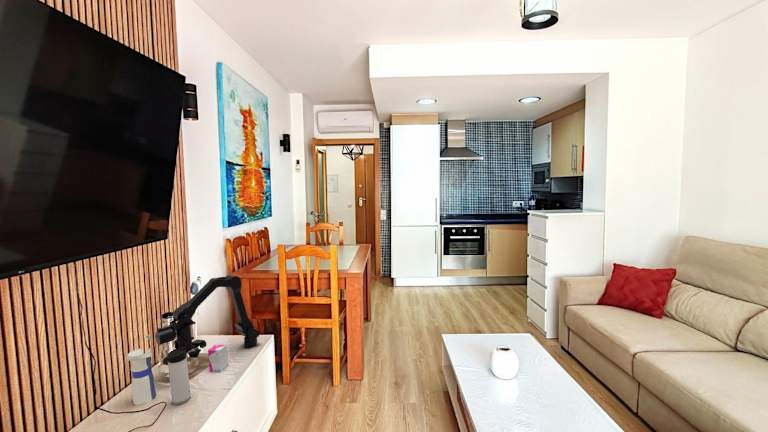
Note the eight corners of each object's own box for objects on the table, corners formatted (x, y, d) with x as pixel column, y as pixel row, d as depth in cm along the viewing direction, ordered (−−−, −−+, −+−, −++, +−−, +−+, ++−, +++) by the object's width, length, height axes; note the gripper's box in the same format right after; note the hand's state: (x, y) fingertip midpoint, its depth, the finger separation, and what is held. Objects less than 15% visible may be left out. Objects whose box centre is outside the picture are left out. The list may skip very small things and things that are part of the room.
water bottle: (140, 393, 142) (133, 333, 139) (161, 391, 142) (155, 332, 140) (126, 405, 134) (119, 343, 131) (149, 404, 134) (142, 341, 132)
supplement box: (229, 368, 158) (227, 344, 157) (221, 375, 153) (219, 350, 152) (217, 368, 159) (214, 344, 158) (209, 375, 153) (207, 350, 152)
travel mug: (195, 396, 138) (190, 347, 136) (180, 406, 132) (175, 355, 130) (183, 393, 140) (178, 345, 138) (168, 403, 134) (163, 353, 132)
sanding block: (184, 367, 158) (183, 356, 158) (199, 368, 156) (198, 358, 156) (175, 373, 153) (174, 362, 153) (190, 374, 151) (189, 363, 151)
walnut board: (201, 355, 172) (200, 352, 171) (225, 358, 168) (225, 355, 168) (162, 380, 150) (162, 377, 150) (189, 383, 147) (189, 380, 147)
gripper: (186, 326, 164) (189, 358, 166) (150, 344, 146) (154, 380, 148) (205, 328, 162) (208, 360, 163) (172, 346, 144) (175, 382, 145)
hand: (187, 370), depth 155 cm, fingers closed on sanding block, 5 cm apart
